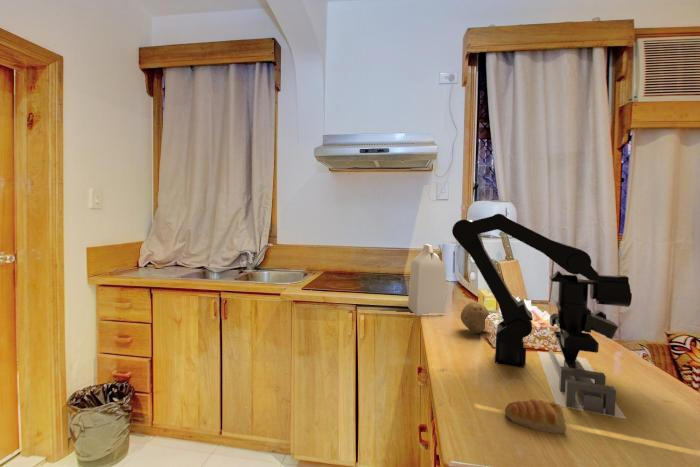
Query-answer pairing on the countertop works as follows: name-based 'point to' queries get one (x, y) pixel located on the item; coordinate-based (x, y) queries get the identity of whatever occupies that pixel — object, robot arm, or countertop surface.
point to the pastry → (537, 415)
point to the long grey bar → (585, 398)
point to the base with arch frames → (577, 383)
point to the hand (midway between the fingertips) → (569, 366)
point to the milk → (427, 283)
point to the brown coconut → (474, 316)
